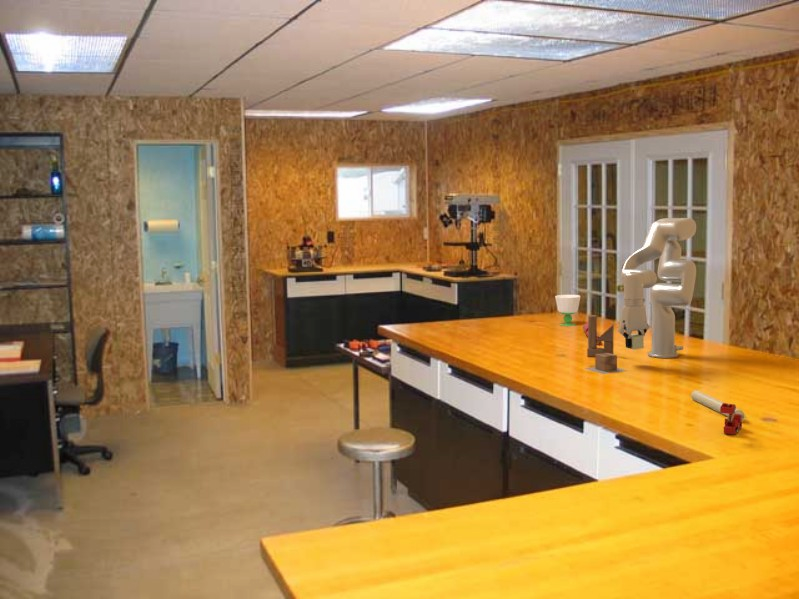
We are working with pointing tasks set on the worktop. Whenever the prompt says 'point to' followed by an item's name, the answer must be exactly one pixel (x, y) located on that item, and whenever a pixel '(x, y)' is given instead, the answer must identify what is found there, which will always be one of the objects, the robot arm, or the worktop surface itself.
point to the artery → (585, 328)
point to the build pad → (605, 371)
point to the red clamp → (731, 419)
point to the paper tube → (712, 403)
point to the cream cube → (637, 341)
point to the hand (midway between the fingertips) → (634, 346)
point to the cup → (567, 307)
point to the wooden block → (592, 338)
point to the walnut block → (606, 362)
